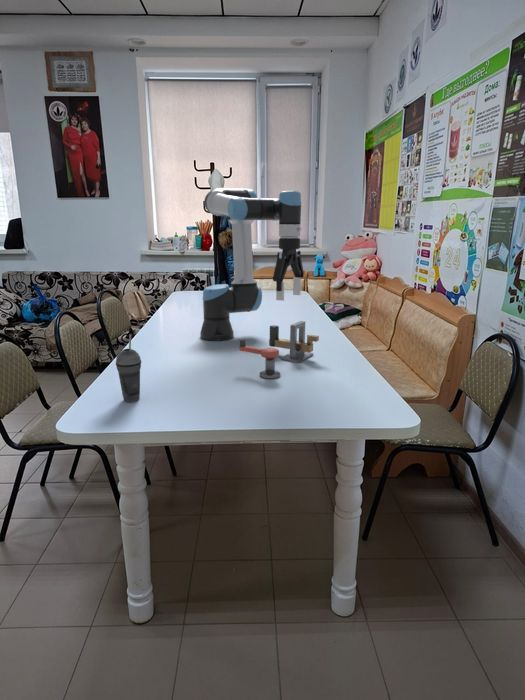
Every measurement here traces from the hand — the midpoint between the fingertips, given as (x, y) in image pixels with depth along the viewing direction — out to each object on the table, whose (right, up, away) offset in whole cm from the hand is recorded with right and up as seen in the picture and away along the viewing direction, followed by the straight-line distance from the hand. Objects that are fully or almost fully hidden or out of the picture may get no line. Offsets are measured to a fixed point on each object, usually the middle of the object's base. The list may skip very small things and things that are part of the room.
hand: (288, 297), depth 163 cm
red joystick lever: (-11, -20, -9) cm, 25 cm away
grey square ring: (+4, -22, +11) cm, 25 cm away
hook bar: (+2, -19, +11) cm, 22 cm away
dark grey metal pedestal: (-7, -28, -10) cm, 30 cm away
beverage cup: (-49, -34, -30) cm, 66 cm away
